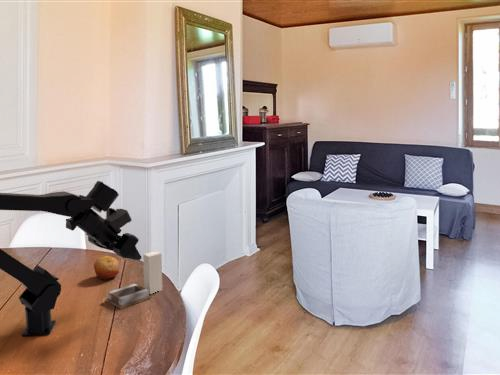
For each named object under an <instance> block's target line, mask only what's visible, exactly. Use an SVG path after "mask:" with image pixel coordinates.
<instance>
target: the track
mask: <svg viewBox="0 0 500 375" xmlns="http://www.w3.org/2000/svg"><path fill="white" fill-rule="evenodd" d="M107 293H108V297H107V298H105V300H106V302H108V303H110V304H112V305H113V306H116V307H117V308H118V309H120V310H123V309H125V308H127V307H130V306H133V305H136V304H139V303H141V302H145V301H147V300H151V299H152V296H151V295H149V291H148V290H147V289H145V288H144V286H141V285H139V284H137V283H133V284H130V285H127V286H123V287H120V288H117V289H113V290H111V291H108V292H107Z"/></svg>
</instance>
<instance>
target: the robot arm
mask: <svg viewBox="0 0 500 375" xmlns="http://www.w3.org/2000/svg"><path fill="white" fill-rule="evenodd" d="M92 187H93V188H92V189H91V190H90V191H89V192H88V194H87V195H86V196H85V195H82V194H79V195H78V194H75V193H71V192H69V191H55V192H48V193H44V194H43V193H42V194H32V193H31V194H30V193H28V194H27V193H11V192H0V211H19V212H21V211H25V212H27V211H28V212H46V213H51V214H55V215H59V216H63V217H68V218H66V219H65V228H66V229H68V230H70V231H75V230H76V229H77V228H79V229H80V230H82V231H83V232H84V233H85V235H86V236H87V242H89V243H91V244H92V245H94V246H96V247H99V249H105V250H107V251H112V252H114V253H115V254H116V255H117V256H118V257H121V258H123V259H128V260H129V259H131V260H134V261H141V259H143V256H141V254H140V252H139V250H138V249H137V247H136V245H137V244H138V242H139V240H140V239H139V238H138V237H137V236H136V235H135V234H132V233H129V232H126V233H123V234H122V235H120V233H121V232H122V231H123V230H122V228H123V227H124V226H125V225H127V224H128V223H131V222H132V220H133V219H132V218H131V216H130V212H129V211H128V210H126V209H124V208H116V209H115V208H112V207H111V206H112V205H113V203H114V202H115V201H116V200H117V199H118V197H119V192H118V191H116V190H115V189H114V188H112V187H110V186H109V185H107V184H105V183H104V182H103V181H100V180H97V181H96V183H95V184H94V185H93V186H92ZM94 210H95V211H94ZM102 212H104V213H106V214H105V215H106V216H105V218H103V217H102V216H101V215H99V214H98V213H102ZM0 270H2V271H3V272H4V273H6V274H8V275H10V276H11V277H13V278H14V279H15V280H17V281H18V282H19V283H20V284H21V285H22V286H23V287H24V288H25V289H24V290H23V292H22V293H21V294H20V295H19V297H18V300H19V301H20V302H19V303H20V304H21V305H23V306H24V307H25V308H24V312H25V325H26V327H25V328H24V330H23V332H22V333H21V337H32V336H33V337H34V336H45V335H50V334H52V331H53V329H54V328H55V325H56V323H57V321H56V320H52V310H54V309H55V306H56V304H57V300H58V298H59V296H60V294H61V292H62V285H61V283H60V282H59V277H57V276H55V275H54V274H52V273H51V272H49V271H48V270H47V269H45V268H43V267H41V266H40V265H39V264H36V265H35V267H34V268H31V267H28V266H27V265H25V264H24V263H22V262H21V261H19V259H18V260H17V259H16V258H15V257H14V256H12V255H10V254H9V253H7V252H6V251H4V250H3V249H1V248H0Z"/></svg>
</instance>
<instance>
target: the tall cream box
mask: <svg viewBox="0 0 500 375" xmlns="http://www.w3.org/2000/svg"><path fill="white" fill-rule="evenodd" d="M142 255H143V256H142V260H143V283H144V284H143V288H145V289H147V290H148V291H149V294H151V295H154V294H156V293H158V292H157V291H159V292H162V291H163V263H162V261H163V260H162V258H163V257H162V252H160V251H157V250H155V251H151V252H147V253H143V254H142ZM161 290H162V291H161ZM155 292H156V293H155ZM153 293H154V294H153Z"/></svg>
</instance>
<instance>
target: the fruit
mask: <svg viewBox="0 0 500 375" xmlns="http://www.w3.org/2000/svg"><path fill="white" fill-rule="evenodd" d="M93 269H94V273H95V275H96V277H98V278H99V279H102V280H104V281H107V280H109V279H112V278H114V277H116V276H117V275H118V274H119V273H120V262H119V261H118V260H117V259H116V257H113V256H111V255H110V256H109V255H103V256H101V257H99V258H98V259H97V260H95V262H94V263H93Z"/></svg>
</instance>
